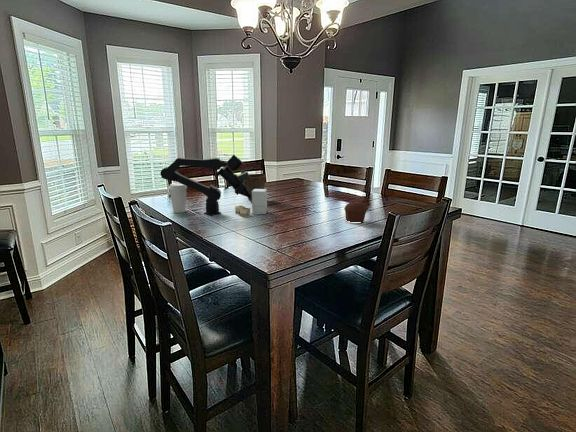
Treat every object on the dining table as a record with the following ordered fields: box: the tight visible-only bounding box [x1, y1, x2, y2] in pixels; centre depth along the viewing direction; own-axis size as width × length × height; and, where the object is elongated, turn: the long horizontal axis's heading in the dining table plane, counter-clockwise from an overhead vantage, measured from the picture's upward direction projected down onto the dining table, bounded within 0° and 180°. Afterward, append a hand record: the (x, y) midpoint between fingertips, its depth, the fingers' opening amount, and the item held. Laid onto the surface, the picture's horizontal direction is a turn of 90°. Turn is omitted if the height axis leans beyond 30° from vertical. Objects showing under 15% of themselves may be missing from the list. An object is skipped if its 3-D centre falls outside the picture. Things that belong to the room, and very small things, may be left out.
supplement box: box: [251, 188, 268, 215], centre depth 185 cm, size 7×7×13 cm
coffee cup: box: [168, 182, 188, 214], centre depth 185 cm, size 10×10×15 cm
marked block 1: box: [234, 205, 246, 216], centre depth 184 cm, size 4×4×4 cm
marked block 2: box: [239, 207, 251, 218], centre depth 179 cm, size 4×4×4 cm
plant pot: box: [243, 173, 267, 202], centre depth 215 cm, size 15×15×16 cm
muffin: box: [344, 201, 369, 223], centre depth 171 cm, size 12×11×10 cm
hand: (250, 197), depth 184 cm, fingers closed
